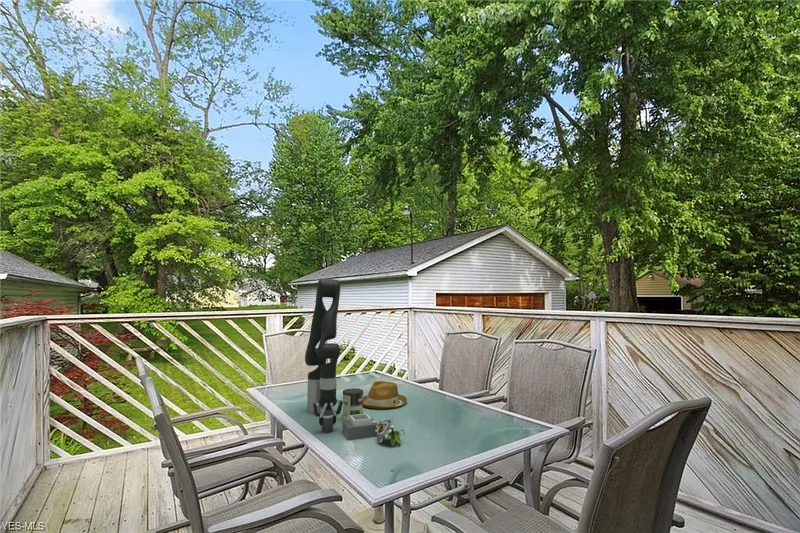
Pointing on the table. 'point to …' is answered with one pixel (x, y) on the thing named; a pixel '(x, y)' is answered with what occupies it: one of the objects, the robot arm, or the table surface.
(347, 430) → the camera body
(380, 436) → the passion flower
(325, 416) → the lens
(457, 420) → the table surface
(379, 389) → the fedora
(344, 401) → the coffee can
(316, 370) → the robot arm
